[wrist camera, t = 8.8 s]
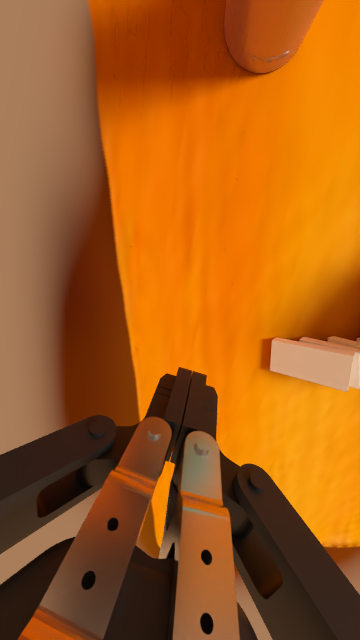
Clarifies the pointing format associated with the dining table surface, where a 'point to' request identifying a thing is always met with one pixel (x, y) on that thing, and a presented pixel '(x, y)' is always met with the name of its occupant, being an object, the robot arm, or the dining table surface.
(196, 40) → the dining table surface
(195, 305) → the dining table surface
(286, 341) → the domino
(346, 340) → the domino
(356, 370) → the domino
